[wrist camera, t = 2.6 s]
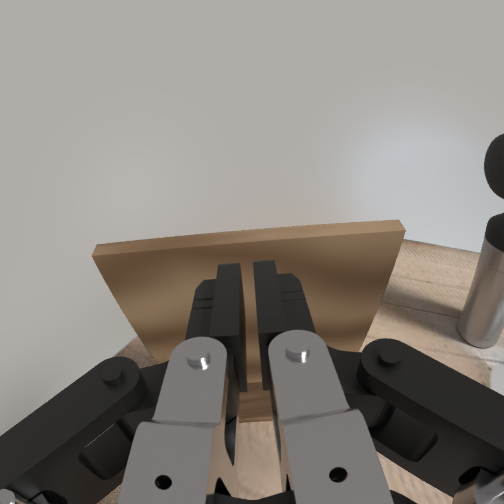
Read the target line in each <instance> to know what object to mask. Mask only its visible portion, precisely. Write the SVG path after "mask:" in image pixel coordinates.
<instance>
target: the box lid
mask: <svg viewBox="0 0 504 504" xmlns="http://www.w3.org/2000/svg"><path fill="white" fill-rule="evenodd" d="M405 231H406V230H405V228H404V227H403V225H402V224H401V222H400V221H399V220H386V221H369V222H351V223H336V224H321V225H307V226H293V227H280V228H267V229H255V230H242V231H230V232H220V233H208V234H196V235H186V236H175V237H165V238H155V239H145V240H135V241H126V242H116V243H107V244H98V245H96V248H95V250H94V252H93V254H92V257H93V260H94V261H95V263H96V265H97V267H98V269H99V271H100V273H101V275H102V276H103V278H104V280H105V282H106V284H107V285H108V287H109V289H110V291H111V292H112V294H113V296H114V298H115V299H116V301H117V303H118V304H119V306H120V308H121V309H122V311H123V313H124V314H125V316H126V318H127V319H128V321H129V322H130V324H131V325H132V327H133V329H134V330H135V332H136V333H137V335H138V336H139V338H140V339H141V341H142V342H143V344H144V345H145V347H146V348H147V350H148V351H149V353H150V354H151V356H152V357H153V358H154V360H155V361H156V363H157V364H161V363H164V362H166V361H168V360H169V359H170V356H171V353H172V351H173V350H174V349H175V348H176V346H178V345H179V344H180V343H182V342H183V341H185V336H186V331H187V327H188V322H189V317H190V312H191V310H192V303H193V298H194V294H195V289H196V288H197V287H198V286H199V285H200V283H201V282H202V281H203V280H208V279H216V276H217V268H218V264H226V263H238V262H240V266H241V275H242V284H243V293H244V302H245V316H246V354H247V383H254V382H262V373H261V362H260V350H259V339H258V326H257V312H256V298H255V284H254V270H253V261H263V260H275V265H276V270H277V274H283V273H292V274H293V275H294V276H296V277H297V278H298V279H299V280H300V281H301V285H302V288H303V292H304V294H305V298H306V301H307V304H308V307H309V311H310V314H311V317H312V321H313V324H314V327H315V331H316V334H317V335H318V336H320V337H321V338H322V339H323V340H324V342H325V344H326V345H328V346H329V347H332V348H334V349H337V350H342V351H350V352H359V350H360V348H361V346H362V344H363V342H364V339H365V337H366V335H367V333H368V330H369V328H370V326H371V324H372V321H373V319H374V317H375V314H376V312H377V309H378V307H379V304H380V302H381V299H382V297H383V294H384V292H385V289H386V287H387V284H388V281H389V279H390V276H391V273H392V270H393V267H394V265H395V262H396V259H397V256H398V253H399V250H400V247H401V244H402V241H403V238H404V234H405Z"/></svg>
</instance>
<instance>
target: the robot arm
mask: <svg viewBox="0 0 504 504" xmlns="http://www.w3.org/2000/svg"><path fill="white" fill-rule="evenodd" d="M484 171H485V176H486V179H487V182H488V184H489V186H490V188H491V189H492V191H493V192H494V193H495V194H496V195H498V196H499V197H501V198H503V199H504V134H502V135H499V136H498V137H496V138H495V139H494V140H493V141H492V142H491V144H490V146H489V148H488V150H487V152H486V156H485V161H484ZM253 270H254V284H255V298H256V312H257V326H258V339H259V350H260V362H261V373H262V385H263V391H268V390H270V396H271V408H272V418H273V425H274V432H275V439H276V445H277V452H278V459H279V465H280V474H281V484H282V491H283V492H282V493H279V494H276V495H272V496H269V497H266V498H262V499H258V500H246V499H241V498H238V478H237V453H238V432H239V405H240V401H239V393H240V392H248V390H247V354H246V316H245V302H244V293H243V284H242V275H241V266H240V262H238V263H226V264H218V268H217V276H216V279H208V280H203V281H202V282H201V283H200V285H199V286H198V287H197V288H196V289H195V294H194V298H193V303H192V310H191V312H190V317H189V322H188V327H187V331H186V336H185V341H183V342H182V343H180V344H179V345H178V346H176V348H175V349H174V350H173V351H172V353H171V356H170V359H169V360H168V361H166V362H164V363H161V364H158V365H154V366H150V367H145V368H141V369H139V367H138V365H137V364H136V363H135V362H134V361H133V360H131V359H129V358H126V357H113V358H109V359H106V360H104V361H102V362H101V363H99V364H98V365H97V366H95V367H94V368H92V369H91V370H90V371H88V372H87V373H86V374H85V375H83V376H82V377H80V378H79V379H77V380H76V381H75V382H73V383H72V384H71V385H69V386H68V387H67V388H65V389H64V390H62V391H61V392H60V393H59V394H57V395H56V396H54V397H53V398H52V399H50V400H49V401H48V402H46V403H45V404H43V405H42V406H41V407H39V408H38V409H37V410H35V411H34V412H33V413H31V414H30V415H28V416H27V417H26V418H24V419H23V420H22V421H21V422H19V423H18V424H16V425H15V426H14V427H12V428H11V429H9V430H8V431H7V432H5V433H4V434H3V435H1V436H0V504H97V503H98V502H99V501H100V500H102V499H103V498H104V497H105V496H107V495H108V494H109V493H110V492H112V491H113V490H114V489H115V488H116V487H118V486H119V485H120V484H121V483H122V486H121V490H120V494H119V499H118V503H117V504H417V503H415V502H414V501H412V500H411V499H409V498H407V497H405V496H404V495H402V494H399V493H397V492H395V491H392V490H389V487H388V484H387V481H386V478H385V475H384V472H383V470H382V467H381V464H380V461H379V458H378V455H377V452H379V453H380V454H382V455H383V456H385V457H386V458H388V459H389V460H391V461H392V462H394V463H396V464H397V465H399V466H400V467H402V468H403V469H405V470H407V471H408V472H410V473H411V474H413V475H415V476H416V477H418V478H420V479H421V480H423V481H425V482H426V483H428V484H430V485H431V486H433V487H435V488H437V489H438V490H440V491H442V492H444V493H446V494H447V495H449V496H451V497H453V502H452V504H504V396H503V395H501V394H499V393H497V392H495V391H494V390H492V389H490V388H488V387H486V386H484V385H482V384H480V383H478V382H476V381H474V380H473V379H471V378H469V377H467V376H465V375H463V374H461V373H459V372H457V371H456V370H454V369H452V368H450V367H448V366H446V365H444V364H442V363H440V362H439V361H437V360H435V359H433V358H431V357H429V356H427V355H425V354H423V353H422V352H420V351H418V350H416V349H414V348H412V347H410V346H409V345H407V344H405V343H403V342H401V341H398V340H395V339H387V338H385V339H378V340H375V341H372V342H370V343H369V344H368V345H366V346H365V348H364V349H363V351H362V353H361V352H350V351H342V350H337V349H334V348H332V347H329V346H328V345H326V344H325V342H324V340H323V339H322V338H321V337H320V336H318V335H317V334H316V331H315V327H314V324H313V321H312V317H311V314H310V311H309V307H308V304H307V301H306V298H305V294H304V292H303V288H302V285H301V281H300V280H299V279H298V278H297V277H296V276H294V275H293V274H292V273H283V274H277V270H276V265H275V260H263V261H253ZM457 328H458V331H459V333H460V335H461V336H462V338H463V339H464V340H465V341H467V342H468V343H470V344H471V345H473V346H476V347H480V348H489V347H491V346H493V345H495V344H496V342H497V341H498V339H499V337H500V335H501V333H502V331H503V329H504V213H502V214H499V215H496V216H493V217H491V218H490V219H489V221H488V223H487V227H486V232H485V237H484V241H483V245H482V249H481V253H480V257H479V261H478V264H477V268H476V271H475V275H474V278H473V281H472V284H471V287H470V290H469V293H468V296H467V299H466V302H465V305H464V307H463V310H462V313H461V315H460V318H459V321H458V324H457ZM114 423H115V424H114ZM113 424H114V425H113ZM112 425H113V426H112ZM110 426H112V427H110ZM109 427H110V428H109ZM108 428H109V429H108ZM107 429H108V430H107ZM105 430H107V431H106V432H104V431H105ZM103 432H104V433H103ZM102 433H103V434H102ZM100 434H102V435H101V436H99V435H100ZM98 436H99V437H98ZM97 437H98V438H97ZM95 438H97V439H96V440H94V439H95ZM93 440H94V441H93ZM92 441H93V442H92ZM90 442H92V443H91V444H89V443H90ZM88 444H89V445H88ZM87 445H88V446H87ZM85 446H87V447H85ZM84 447H85V448H84ZM376 451H377V452H376Z"/></svg>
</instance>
